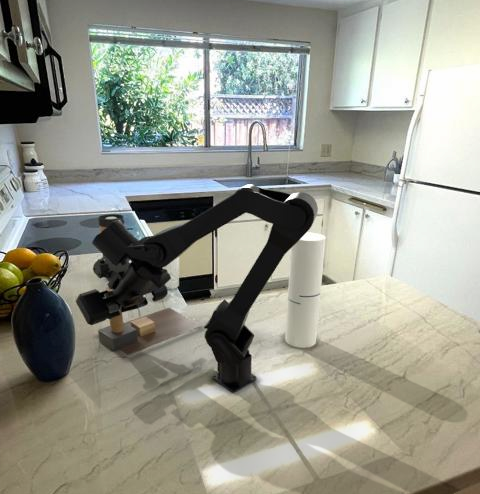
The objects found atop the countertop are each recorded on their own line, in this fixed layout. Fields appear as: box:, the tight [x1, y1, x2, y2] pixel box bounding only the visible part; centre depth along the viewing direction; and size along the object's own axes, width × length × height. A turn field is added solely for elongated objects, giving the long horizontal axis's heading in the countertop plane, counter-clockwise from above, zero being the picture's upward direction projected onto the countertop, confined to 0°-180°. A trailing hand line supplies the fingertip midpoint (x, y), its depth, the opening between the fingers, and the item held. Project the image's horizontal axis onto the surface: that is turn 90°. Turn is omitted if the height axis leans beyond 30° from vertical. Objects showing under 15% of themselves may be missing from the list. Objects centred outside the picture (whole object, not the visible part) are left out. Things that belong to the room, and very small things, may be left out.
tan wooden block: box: [130, 316, 155, 337], centre depth 95 cm, size 4×4×2 cm
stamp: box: [97, 286, 138, 352], centre depth 88 cm, size 6×6×13 cm
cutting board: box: [119, 307, 202, 356], centre depth 97 cm, size 14×20×1 cm
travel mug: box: [98, 213, 126, 281], centre depth 127 cm, size 8×8×20 cm
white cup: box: [163, 256, 180, 290], centre depth 123 cm, size 8×8×10 cm
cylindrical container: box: [284, 231, 327, 349], centre depth 90 cm, size 7×7×25 cm
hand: (112, 313), depth 89 cm, fingers closed on stamp, 3 cm apart
